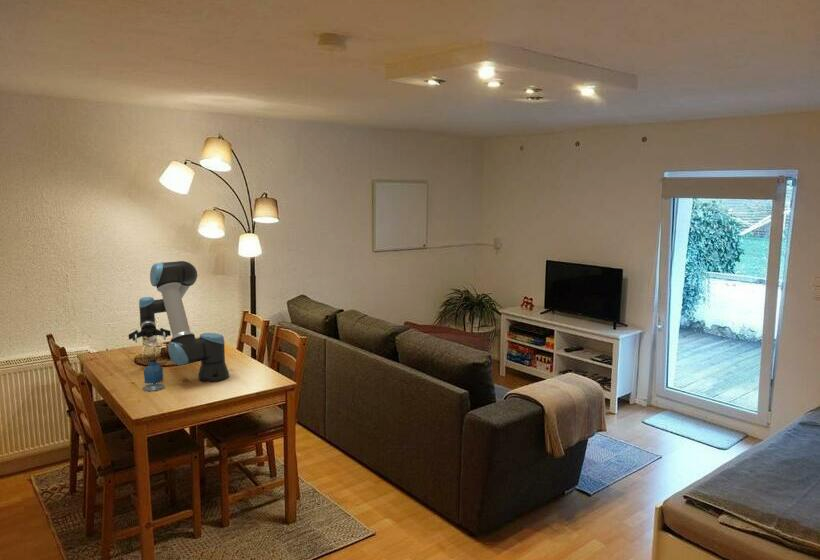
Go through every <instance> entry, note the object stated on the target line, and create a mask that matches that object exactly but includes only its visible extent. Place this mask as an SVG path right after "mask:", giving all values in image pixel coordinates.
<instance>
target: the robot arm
mask: <svg viewBox="0 0 820 560" xmlns="http://www.w3.org/2000/svg"><path fill="white" fill-rule="evenodd" d="M197 279H198V271H197V268H196V267H195V266H194V265H193V263H191V262H189V261H185V260H177V261H166V262H165V261H164V262H158V263H157V262H156V263H154V264H152V265H151V269H150V271H149V280H150V285H151V286H152V287H156V290H157V291H158V292H160V293H161V296H162V299H155V298H154V297H151V296H144V297H140V298H139V300H138V303H139V305H138V309H139V326H140V331H139V330H138V329H135V330H134V331H133V332H131V333H128V340H132V341H133V342H135V343H138V339H139V338H142V337H143V338H145V337H146V338H152V337H155V336H156V337H157V336H159V337H163V340H164V341H166V340H167V337H169V336H170V337H171V335H172V337H171V339H170V340H169V341H170V342H169V343H168V346H167V349H168V350H167V351H168V355H169V358H170V360H171V361H172V363H174V364H175V365H178V366H181V365H182V366H183V365H188V364H192V363H196V362H200V368H199V372H198V375H197V378H198V381H200V382H205V383H215V382H217V383H218V382H221V381H225V380H227V379H228V378H229V376H230V372H229V370H228V367H227V364H226V361H225V359H226V356H225V355H226V352H225V338H224V336H223V335H222V334H220V333H215V332H203V333H201V334H200V335H199V337H196V335H195V333H193V332H191V329H190V325H189V322H188V318H187V317H188V316H187V314H186V309H185V306H184V303H183V300H182V299H183V298H184V295H185V294H186V292H187V291H188V290H189V288H190V287H191V286H193V285H194V284H195V283H196V281H197ZM160 313H166V316H167V320H168V324H169V327H170V329H169V330H168V329H165V328H163V327H160V328H159V329H157V326H156V320H155V319H156V318H155V317H156V316H155V314H160Z"/></svg>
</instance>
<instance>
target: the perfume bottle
mask: <svg viewBox="0 0 820 560" xmlns="http://www.w3.org/2000/svg"><path fill="white" fill-rule="evenodd" d="M148 360H149V362H148V363H149V364H148V365H147V366H146V367H145V369H144V371H143V377H144V378H143V379H144V384H149V383H153V384H156V383H157V384H159V383H160V381H161V382H162V380H163V381H164V372H163V371H164V370H163V369H164V368H163V367H162V366H161V365H160V363H158V364H157V358H156V357H150V358H149V359H148ZM158 382H159V383H158Z"/></svg>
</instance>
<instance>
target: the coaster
mask: <svg viewBox="0 0 820 560" xmlns="http://www.w3.org/2000/svg"><path fill="white" fill-rule="evenodd" d="M164 387H165V384H162V383H157V384H146V385H144V386H143V387H141V388H142V389H141V390H142V391H143V390H144V391H143V392H145V391H148V392H147V393H151V392H150V391H155V392H159V391H158V390H160V391H162V390H164V389H165V388H164ZM163 388H164V389H163ZM161 389H162V390H161Z"/></svg>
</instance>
